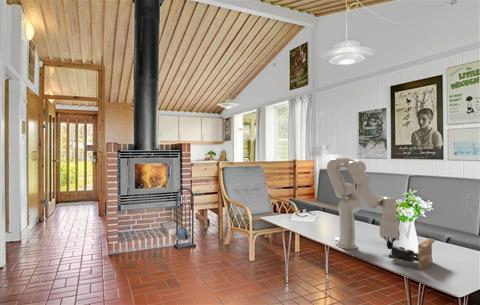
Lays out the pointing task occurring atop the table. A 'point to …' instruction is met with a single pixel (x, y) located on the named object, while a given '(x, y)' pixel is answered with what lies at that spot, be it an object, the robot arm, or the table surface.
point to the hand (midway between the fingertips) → (389, 248)
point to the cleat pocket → (408, 262)
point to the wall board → (425, 253)
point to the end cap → (402, 253)
